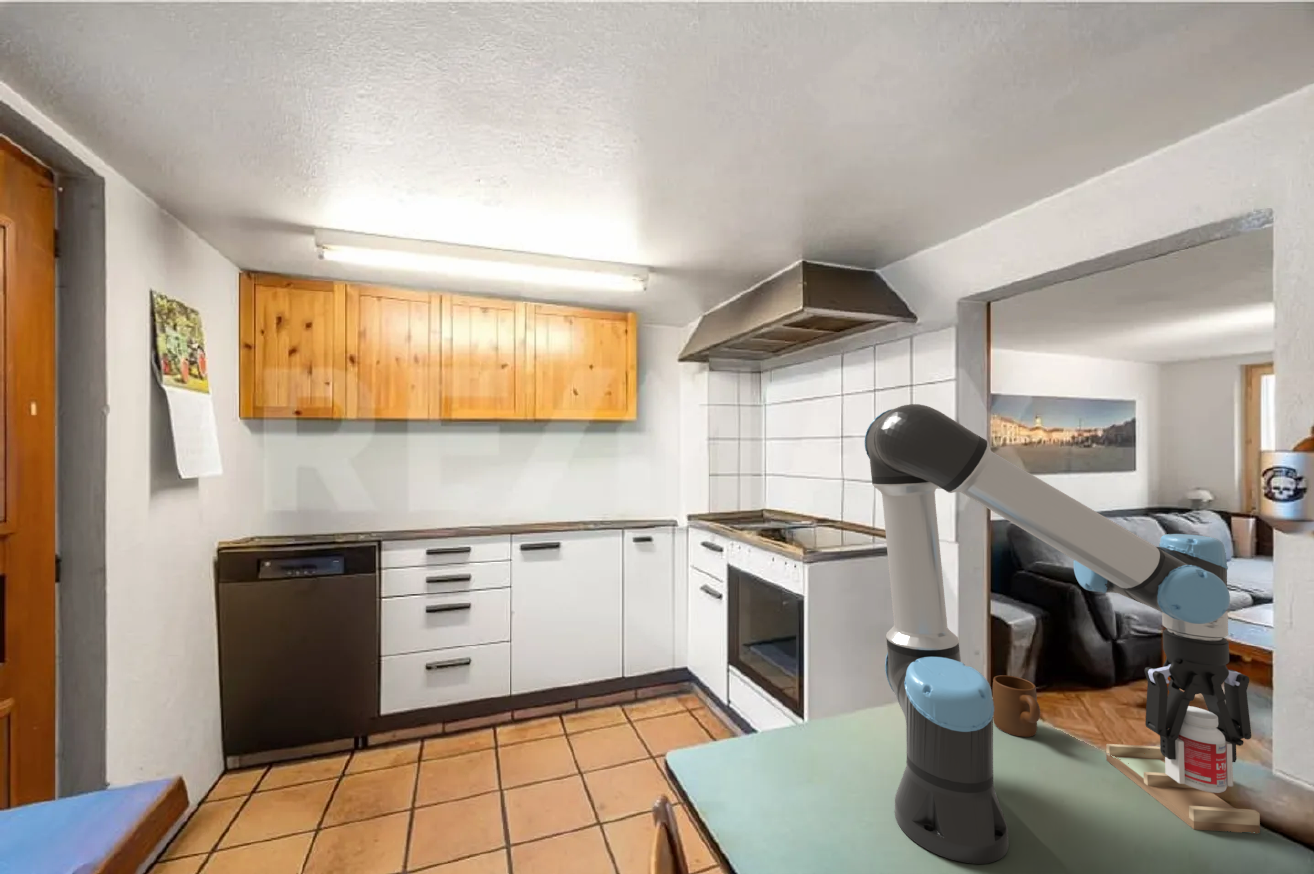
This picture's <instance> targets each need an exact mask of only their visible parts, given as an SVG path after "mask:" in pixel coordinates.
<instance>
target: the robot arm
mask: <svg viewBox="0 0 1314 874" xmlns="http://www.w3.org/2000/svg"><path fill="white" fill-rule="evenodd" d="M864 436H865V437H864V449H865V452H866V455H867V457H868V459H869V464H870V466H869V467H870V473H871V474H870V475H871V486H873V487H874V488H875V489H877V490H878V491H879V492H880V494H881V496H882V497H881V498H882V507H883V519H884V521H883V522H884V530H885V541H886V550H887V553H886V554H887V562H888V571H889V573H888V575H889V585H890V595H891V596H890V597H891V604H892V605H891V607H892V615H893V626H892V627H891V628H890V629H889V630H888V631H886V635H885V638H886V647H887V648H886V649H887V652H886V655H885V662H884V663H885V664H884V670H885V671H884V672H885V676H886V679H887V682H888V685H889V686H890V688H891V690H892V692H893V694H894V695H895V697H896V700H897V702H898V705H899V707H900V709H901V711H902V713H903V716H904V718H905V726H906V727H905V728H906V730H905V731H906V733H905V735H906V736H905V737H906V766H905V769H904V771H903V774H902V777H901V779H900V782H899V785H898V787H897V789H896V793H895V797H894V816H895V820H896V822H897V825H898V827H899V828H900V829H901V830H902V832H904V833H905V835H906V836H907V837H909V838H910V840H912V841H913V842H914V843H916V844H917V845H919V847H920V846H921V847H922V848H924V849H925V850H928V851H930V852H931V853H933V854H936V855H938V856H940V857H941V858H942V857H943V858H946V859H948V860H952V861H956V862H960V863H966V864H976V865H978V864H989V863H994V862H997V861H999V860H1001V859H1002V858H1003V857H1005V856H1006V855H1007V852H1008V850H1009V828H1008V824H1007V820H1006V818H1005V814H1004V813H1003V812H1004V811H1003V810H1002V806H1001V805H1000V801H999V799H998V796H997V792H996V789H995V786H994V721H993V715H994V705H993V703H994V702H993V691H992V689H991V688H992V687H991V686H990V683H989V681H988V680H987V679H986V677H985V676H984V675H983V674H982V673H981V672H979V671H978V670H977V669H976V668H974V667H972V666H969V665H966V664H965V663H964V662H962V661H961V652H960V643H959V642H960V639H959V637H958V636H957V635H956V634H955V633H954V632H952V631H951V630H950V629H949V628H948V618H947V607H946V599H945V598H946V597H945V588H944V579H943V577H944V576H943V566H942V557H941V556H942V555H941V546H940V536H939V535H940V533H939V524H938V514H937V506H936V496H935V494H936V493H935V492H936V490H937V489H938V488H940V489H942V490H944V491H945V492H947V493H948V494H952V493H961V494H964V495H965V496H966V497H968V498H970V499H971V500H974V501H975V502H976V503H978V504H980V505H981V506H983V507H985V508H987V509H989V510H990V511H991V512H993V513H995V514H997V515H998V516H1000V517H1002V518H1004V519H1005V520H1007V521H1009V522H1010V523H1012V524H1013V525H1015V526H1017V527H1019V528H1020V529H1022V530H1024V531H1025V532H1027V533H1028V534H1030V535H1031V536H1034V537H1035V538H1037V539H1039V540H1040V541H1042V542H1043V543H1045V544H1047V545H1049V546H1050V547H1052V548H1053V549H1055V550H1056V551H1059V552H1061V553H1062V554H1063V555H1065V556H1067V557H1068V558H1070V559H1073V572H1074V576H1075V578H1076V580H1077V582H1078V584H1079V586H1080V587H1082V588H1083V589H1084V590H1086V591H1089V592H1096V593H1102V594H1107V593H1110V594H1111V593H1114V594H1119V595H1121V596H1124V597H1126V598H1128V599H1131V600H1133V601H1134V602H1137V603H1139V604H1142V605H1146V606H1147V607H1150V608H1152V609H1154V610H1156V611H1159V612H1160V613H1161V619H1162V620H1161V625H1162V627H1164V628H1165V629H1164V630H1162V644H1163V645H1162V650H1163V651H1164V654H1165V657H1166V658H1165V661H1164V663H1163V664H1162V667H1157V668H1152V667H1149V666H1146V667H1145V668H1144V674H1145V677H1146V681H1147V689H1146V707H1145V723H1144V725H1145V727H1146V728H1148V729H1149V730H1150V731H1152V732H1153V733H1155V734H1157V735H1158V736H1159V743H1160V746H1159V747H1161V748H1160V751H1161V753H1162V755H1163V757H1164V760H1165V774H1167V775H1168V776H1170V777H1171V778H1172V779H1174V780H1175V781H1177V782H1178V783H1179V784H1185V770H1184V742H1183V741H1181V740H1180V739H1178V736H1179V733H1180V730H1181V727H1182V724H1183V721H1184V718H1185V715H1186V712H1187V709H1188V706H1190V702H1192V701H1194V699H1195V697H1196V695H1200V694H1201V695H1202V698H1203V700H1204V703H1205V706H1206V708H1207V711H1209V712H1212V713H1214V714H1215V715H1217V717H1218V727H1216V728H1217V729H1218V730H1220V731H1221V732H1222V733H1223V735H1224V737H1225V745H1226V780H1227V787H1234V770H1233V768H1234V767H1233V763H1236V762H1237V746H1238V747H1240V746H1243V745H1244V740H1247V741H1248V740H1250V739H1251V738H1252V730H1251V729H1252V727H1251V720H1250V719H1251V718H1250V711H1249V700H1248V693H1247V692H1248V687H1249V683H1250V677H1249V676H1248V675H1245V674H1243V673H1241V672H1238V671H1236V670H1233V669H1228V667H1227V664H1229V663H1230V648H1229V647H1230V646H1229V645H1230V644H1229V641H1228V640H1227V639H1226V637H1227V636H1229V619H1228V617H1229V614H1228V609H1229V607H1230V602H1231V595H1230V590H1229V589H1228V570H1229V566H1228V562H1227V553H1226V547H1225V545H1224V543H1223V542H1222V541H1221V540H1220V539H1218V538H1214V537H1210V536H1205V535H1199V534H1198V535H1197V534H1185V533H1168V534H1166V533H1165V534H1164V535H1162V536H1161V537H1160V538H1159V539H1160V541H1159V543H1158V546H1155V545H1154V544H1153V543H1151V542H1149V541H1147V540H1146V539H1144V538H1142V537H1140V536H1139V535H1137V534H1135V533H1133V532H1132V531H1130V530H1128V529H1126V528H1125V527H1123V526H1121V525H1119V524H1117V523H1116V522H1115V521H1113V520H1111V519H1110V518H1107V516H1106V517H1105V516H1104V515H1103V514H1100V513H1099V512H1097V511H1096V510H1095V509H1092V508H1090V507H1088V506H1087V505H1085V504H1084V503H1082V502H1080V501H1078V500H1076V499H1075V498H1073V497H1071V496H1070V495H1068V494H1065V493H1064V492H1062V491H1061V490H1059V489H1058V488H1056V487H1054V486H1052V485H1050V484H1049V483H1047V482H1045V481H1044V480H1042V479H1040V478H1038V477H1037V476H1035V475H1033V474H1032V473H1030V472H1028V471H1026V470H1025V469H1023V468H1021V467H1020V466H1018V465H1016V464H1014V463H1013V462H1011V461H1009V460H1007V459H1006V458H1004V457H1002V456H1000V455H998V454H997V453H995V452H993V451H992V450H991V445H990V442H989V441H988V439H985V438H984V437H982V436H980V435H978V434H976V433H974V431H971V430H970V429H969V428H967V427H965V426H963V425H962V424H961V423H959V422H957V421H956V420H954V419H953V418H951V417H949V416H948V415H946V414H945V413H942V412H941V411H939V410H938V409H935V408H933V407H931V406H927V405H924V404H919V403H917V404H916V403H915V404H914V403H911V404H903V405H901V406H898V407H895V408H891V409H888V410H886V411H883V412H882V413H880V414H879V415H878V416H875V418H874V419H873V420H872V422H871V423H870V424H869V426H868V427H867V429H866V432H865V435H864ZM1168 678H1169V679H1168ZM1222 685H1223V686H1222ZM1242 739H1244V740H1242Z"/></svg>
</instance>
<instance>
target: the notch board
mask: <svg viewBox="0 0 1314 874" xmlns="http://www.w3.org/2000/svg"><path fill="white" fill-rule="evenodd" d="M1105 748H1106V750H1105V751H1106V752H1105V753H1109V754H1110V755H1108V754H1106V761H1107V762H1108V763H1109V764H1110V765H1112V766H1113V767H1114V768H1116V769H1117V770H1118V771H1120V772H1121V773H1122V774H1123V775H1125V776H1126V777H1127V778H1128V779H1129V780H1131V781H1132V783H1135V784H1136V785H1137V786H1138V787H1139V788H1141V789H1142V790H1143V791H1145V792H1146V793H1147V794H1148V795H1149V796H1151V797H1153V798H1154V800H1156V801H1157V802H1158V803H1160V804H1161V805H1162V806H1164V807H1165V808H1166V809H1167V810H1168V811H1170V812H1171V813H1173V815H1175V816H1176V817H1178V818H1179V819H1180V820H1182V821H1183V823H1185V824H1186V825H1188V826H1189V827H1190V828H1191V829H1193V830H1198V831H1199V830H1200V831H1211V832H1212V831H1215V832H1227V831H1228V832H1230V831H1231V832H1230V833H1242V832H1251V833H1250V834H1258V833H1260V834H1261V827H1260V826H1261V824H1260V823H1261V822H1260V821H1261V820H1260V819H1261V818H1260V816H1261V815H1260V812H1258V811H1257V810H1256V809H1250V808H1249V809H1248V808H1247V809H1246V808H1235V807H1234V806H1232V805H1231V804H1230V803H1228V802H1226V801H1225V800H1224V799H1222V798H1220V797H1219V796H1218V795H1217V794H1216V793H1211V792H1206V791H1202V790H1199V789H1196V788H1193V787H1191V786H1188V785H1186V784H1179V783H1178V782H1177V781H1175V780H1174V779H1172V778H1171V777H1170V776H1168V775H1167V774H1165V758H1164V755H1162V753H1161V751H1160V748H1161V747H1160V746H1155V745H1154V746H1153V745H1139V744H1137V745H1135V744H1131V745H1130V744H1119V743H1118V744H1116V743H1114V744H1113V743H1106V745H1105ZM1148 749H1150V750H1148ZM1144 753H1145V754H1144ZM1111 755H1112V756H1115V757H1116V758H1119V759H1121V760H1119V759H1116V758H1113V757H1112V756H1111ZM1128 763H1129V764H1128ZM1253 832H1255V833H1253Z"/></svg>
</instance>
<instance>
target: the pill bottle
mask: <svg viewBox="0 0 1314 874" xmlns="http://www.w3.org/2000/svg"><path fill="white" fill-rule="evenodd" d="M1216 727H1218V717H1217V715H1215V714H1214V713H1212V712H1209V711H1208V709H1204V708H1201V707H1200V708H1199V707H1196V706H1192V705H1191V706H1190V705H1189V706H1188V709H1187V712H1186V715H1185V718H1184V721H1183V724H1182V727H1181V730H1180V733H1179V736H1178V739H1180V740H1181V741H1183V742H1184V770H1185V784H1186V785H1188V786H1191V787H1193V788H1196V789H1199V790H1202V791H1206V792H1211V793H1213V794H1220V793H1223V792H1225V791H1226V790H1227V787H1228V786H1227V780H1226V745H1225V737H1224V735H1223V733H1222V732H1221V731H1220V730H1218V729H1217V728H1216Z"/></svg>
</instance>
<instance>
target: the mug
mask: <svg viewBox="0 0 1314 874" xmlns="http://www.w3.org/2000/svg"><path fill="white" fill-rule="evenodd" d="M992 681H993V682H992V699H993V702H994V703H993V705H994V715H993V725H995V727H996V728H997V729H999V731H1001V732H1004V733H1006V734H1008V735H1011V736H1015V737H1019V738H1020V737H1022V738H1023V737H1024V738H1031V737H1033V736H1035V735H1036V734H1037V731H1038V721H1039V720H1040V719H1041V708H1040V705H1039V703H1038V699H1037V698H1038V697H1037V695H1038V694H1037V687H1036V685H1035V684H1034V683H1033V682H1032V681H1030V680H1027V679H1025V678H1022V677H1018V676H1014V675H1013V676H1012V675H1008V674H1007V675H1005V674H1004V675H1003V674H1002V675H996V676H994V677H993V679H992Z"/></svg>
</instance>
